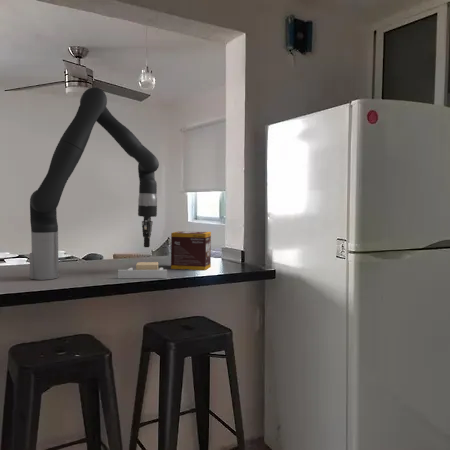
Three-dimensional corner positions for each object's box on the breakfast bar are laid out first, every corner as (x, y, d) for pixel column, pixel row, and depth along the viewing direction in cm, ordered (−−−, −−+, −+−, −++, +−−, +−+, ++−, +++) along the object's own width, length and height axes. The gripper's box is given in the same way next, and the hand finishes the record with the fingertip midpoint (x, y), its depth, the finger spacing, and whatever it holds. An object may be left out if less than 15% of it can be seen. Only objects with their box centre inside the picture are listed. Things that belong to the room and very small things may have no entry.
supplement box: (205, 270, 187) (205, 233, 186) (170, 269, 190) (170, 232, 190) (211, 266, 197) (211, 231, 197) (178, 265, 201) (178, 230, 200)
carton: (136, 278, 169) (136, 265, 168) (137, 275, 176) (137, 262, 176) (157, 277, 170) (157, 264, 169) (158, 274, 177) (158, 262, 177)
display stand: (118, 278, 167) (118, 270, 167) (123, 272, 180) (123, 265, 180) (166, 278, 168) (166, 270, 168) (168, 272, 181) (168, 265, 181)
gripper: (140, 204, 189) (139, 245, 189) (136, 204, 175) (135, 248, 176) (158, 205, 189) (157, 245, 190) (155, 205, 176) (154, 249, 177)
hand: (146, 247), depth 183 cm, fingers closed
